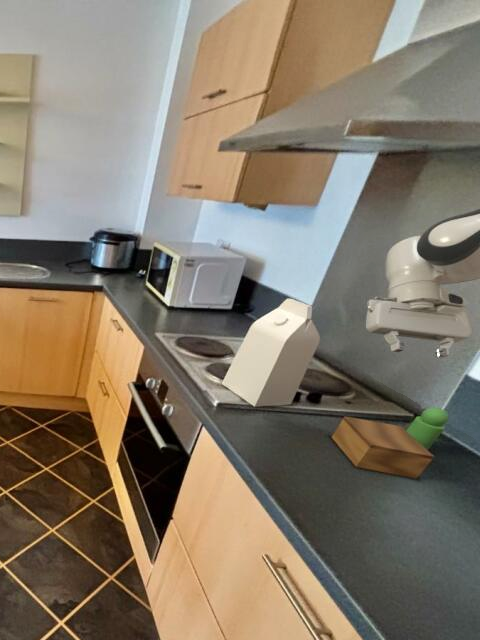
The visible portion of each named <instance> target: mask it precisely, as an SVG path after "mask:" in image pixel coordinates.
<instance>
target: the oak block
mask: <svg viewBox="0 0 480 640" xmlns="http://www.w3.org/2000/svg"><path fill="white" fill-rule="evenodd" d="M406 430H407V429H405V428H403V426H401V425H396V424H391V423H385V422H380V421H373V420H367V419H363V418H357V417H351V416H344V417H343V418H342V420H341V421H340V422H339V424H338V425H337V428H336V429H335V431H334V432H333V434H332V436H331V438H332V440H333V441H334V442H335V443H336V445H337V446H338V447H339V449H341V451H342V452H343V453H344V454H345V456H346V457H347V458H348V459H349V460H350V461H351V463H352V464H353V465H354V466H355V467H356V468H360V469H365V470H371V471H375V472H381V473H386V474H390V475H395V476H400V477H405V478H410V479H418V478H419V477H420V475H421V474H422V473H423V472H424V470H425V469H426V468H427V467H428V466H429V464H430V463H431V462H432V461H433V459H434V458H435V455H434V454H433V453H431V452H430V451H429V449H428V450H427V449H426V448H425V447H423V446H422V445H421V444H420V443H419V442H418V441H417V440H416V439H414V438H413V437H412V436H411V435H410V434H409V433H408V432H407V431H406Z"/></svg>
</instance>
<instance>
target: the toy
mask: <svg viewBox="0 0 480 640" xmlns="http://www.w3.org/2000/svg"><path fill="white" fill-rule="evenodd" d="M449 417H450V416H449V413H448V412H447V411H446V410H444V409H442V408H439V407H429V408H426V409H425V410H424V411H423V412H421V415H420V416H416V417H415V418H414V419H413V420H412V422H411V424H410V425H409V426H408V428H407V429H405V430H406V431H407V432H408V433H409V434H410V435H411V436H412V437H413V438H414V439H416V440H417V441H418V442H419V443H420V444H421V445H422V446H423V447H425V448H426V449H427V450H428V451H429V449H430V448H431V447H432V446H433V444H434V443H435V442H436V441H437V439H438V438H439V437H440V436H441V434H442V433H443V432H444V430H445V429H446V426H445V424H446V423H448V421H449Z"/></svg>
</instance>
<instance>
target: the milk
mask: <svg viewBox="0 0 480 640" xmlns="http://www.w3.org/2000/svg"><path fill="white" fill-rule="evenodd" d="M312 313H313V306H311V305H310V304H306V303H304V302H302V301H299V300H296V299H295V298H286V299H285V300H284V301H282V303H281V304H280V305H279V306H278V307H276V308H275V309H273V310H272V311H270V312H268V313H267V314H265V315H263V316H261V317H260V318H258V319H256V320H255V321H254V322H253V323H252V324H251V325H250V327H249V329H248V331H247V333H246V335H245V337H244V339H243V341H242V342H241V345H240V346H239V348H238V351H237V352H236V354H235V356H234V358H233V359H232V362H231V364H230V366H229V368H228V370H227V372H226V373H225V376H224V378H223V380H222V382H221V384H222V385H223V386H224V387H226V388H227V389H229V390H230V391H231V392H233V393H234V394H236V395H237V396H238V397H240V398H241V399H243V400H244V401H245V402H247V403H248V404H250V405H251V406H252V407H254V408H255V407H258V408H259V407H272V406H273V407H274V406H286V405H287V406H288V405H291V404H292V403H293V401H294V398H295V397H296V394H297V392H298V390H299V388H300V385H301V384H302V381H303V379H304V377H305V375H306V373H307V370H308V368H309V366H310V363H311V361H312V360H313V357H314V355H315V353H316V351H317V349H318V346H319V345H320V342H321V337H320V333H319V331H318V329H317V327H316V326H315V324H314V322H313V320H312V316H313V315H312Z"/></svg>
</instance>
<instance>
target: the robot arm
mask: <svg viewBox="0 0 480 640" xmlns="http://www.w3.org/2000/svg"><path fill="white" fill-rule="evenodd" d="M385 279H386V281H387V283H388V289H387V297H384V296H376V295H375V296H373V297H371V298H369V299H368V300H367V303H366V306H367V312H366V317H365V328H366V330H367V331H368V332H369V334H370V333H371V334H376V335H377V334H379V335H383V338H384V340H385V342H387V343H388V345H389V347H390V351H391V352H395V353H400V352H403V351H404V350H405V343H404V342H401V341H400V339H399V338H398V337H403V338H410V339H420V340H429V341H436V342H437V345H439V348H438V349H434V350H433V352H434V357H435V358H443V359H444V358H447V357H449V356H450V349H451V347H452V345H453V344H456V343H459V342H462V341H465V340H468V339H470V337H471V336H472V335H473V324H472V321H471V316H470V313H469V311H468V310H467V309H466V308H464V307H466V306H468V300H467V298H466V297H463V296H460V295H458V294H456V293H452V292H451V291H448V290H446V289H445V288H442V287H441V285H451V284H458V283H466V282H471V281H475V280H478V279H479V280H480V208H478V209H475V210H473V211H469V212H465V213H462V214H459V215H454V216H451V217H448V218H447V217H446V218H444V219H442V220H439V221H438V222H436V223H435V224H433V225H431V226H430V227H429V228H427V229H426V230H425V231H424V232H423V233H422V235H415V236H414V235H413V236H410V237H407V238H405V239H402V240H401V241H398V242H397V243H395V244H394V245H393V246H392V247H391V248H389V250H388V252H387V255H386V259H385Z"/></svg>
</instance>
